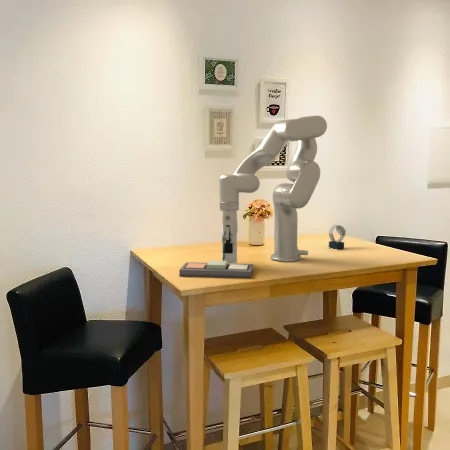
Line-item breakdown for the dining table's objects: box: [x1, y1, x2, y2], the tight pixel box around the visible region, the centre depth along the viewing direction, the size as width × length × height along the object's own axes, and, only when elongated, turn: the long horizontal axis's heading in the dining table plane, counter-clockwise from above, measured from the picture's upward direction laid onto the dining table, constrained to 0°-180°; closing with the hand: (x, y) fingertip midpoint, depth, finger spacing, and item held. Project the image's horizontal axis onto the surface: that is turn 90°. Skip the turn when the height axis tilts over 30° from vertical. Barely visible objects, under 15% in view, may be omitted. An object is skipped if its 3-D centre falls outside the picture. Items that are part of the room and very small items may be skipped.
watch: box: [328, 224, 347, 250], centre depth 228 cm, size 6×8×11 cm
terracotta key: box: [185, 262, 206, 269], centre depth 186 cm, size 7×7×2 cm
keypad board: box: [178, 261, 254, 279], centre depth 185 cm, size 26×12×2 cm, turn 82°
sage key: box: [206, 260, 227, 269], centre depth 185 cm, size 7×7×2 cm
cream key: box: [228, 263, 248, 270], centre depth 184 cm, size 7×7×2 cm
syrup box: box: [221, 224, 238, 264], centre depth 196 cm, size 6×6×14 cm
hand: (229, 250), depth 197 cm, fingers closed on syrup box, 6 cm apart
